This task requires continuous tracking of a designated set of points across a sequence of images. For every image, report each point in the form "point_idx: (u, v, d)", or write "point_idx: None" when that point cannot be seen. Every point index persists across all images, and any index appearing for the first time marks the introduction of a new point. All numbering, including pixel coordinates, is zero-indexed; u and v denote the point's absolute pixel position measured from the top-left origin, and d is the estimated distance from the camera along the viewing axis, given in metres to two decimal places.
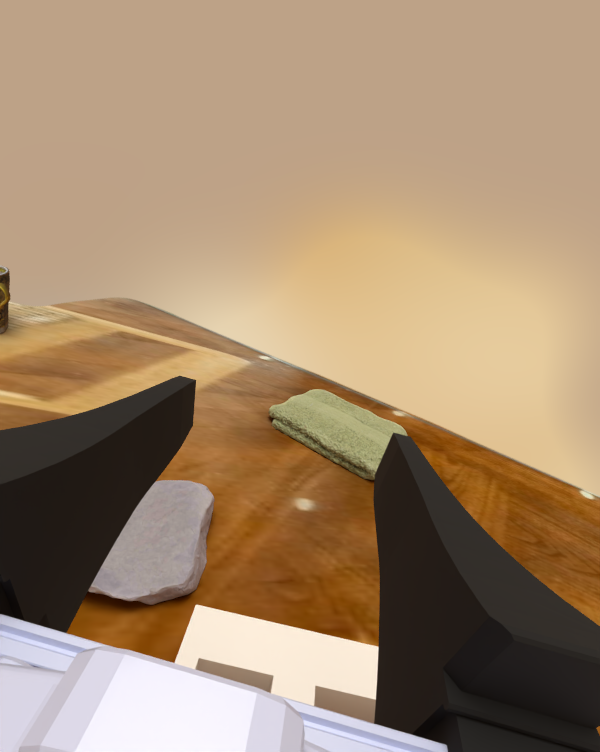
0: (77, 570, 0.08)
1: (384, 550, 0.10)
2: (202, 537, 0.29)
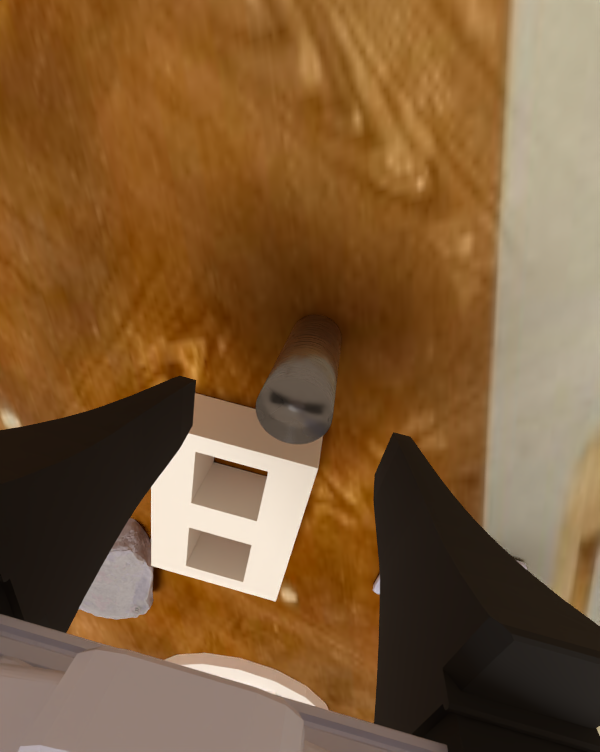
0: (77, 570, 0.08)
1: (384, 550, 0.10)
2: None
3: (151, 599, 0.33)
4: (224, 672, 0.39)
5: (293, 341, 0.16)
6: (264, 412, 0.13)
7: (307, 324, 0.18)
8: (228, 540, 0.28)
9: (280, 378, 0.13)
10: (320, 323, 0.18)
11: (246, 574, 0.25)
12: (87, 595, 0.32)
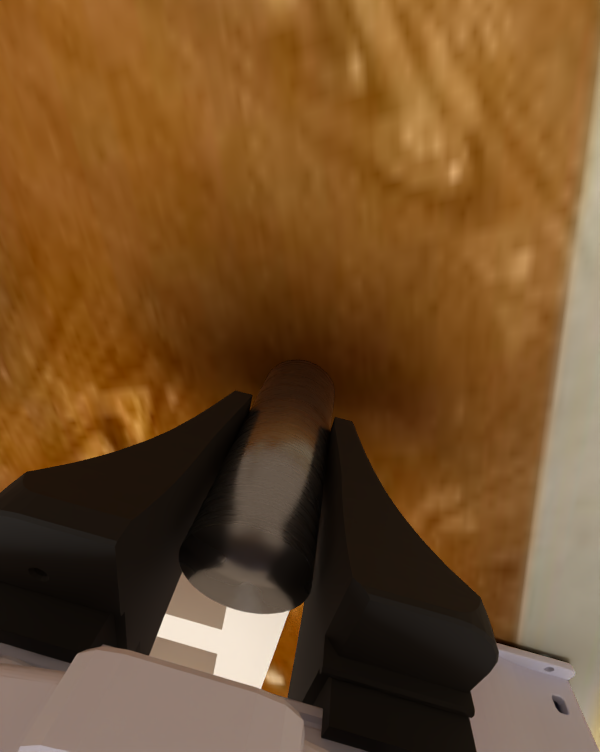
0: (162, 594, 0.08)
1: None
2: None
3: None
4: None
5: (258, 416, 0.10)
6: (194, 568, 0.08)
7: (283, 380, 0.12)
8: None
9: (215, 524, 0.07)
10: (303, 377, 0.13)
11: None
12: None
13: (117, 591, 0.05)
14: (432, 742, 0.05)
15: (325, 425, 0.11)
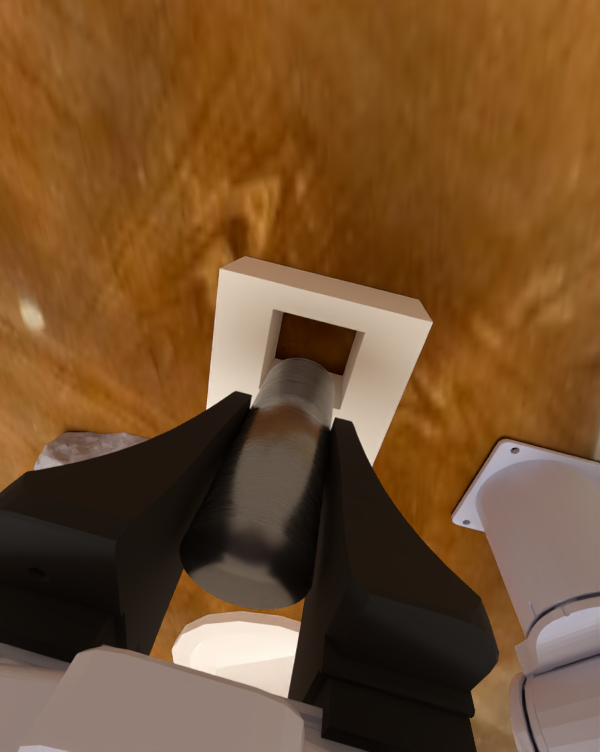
0: (162, 594, 0.08)
1: None
2: (100, 451, 0.26)
3: None
4: (263, 630, 0.35)
5: (260, 412, 0.10)
6: (195, 561, 0.08)
7: (285, 376, 0.12)
8: None
9: (219, 518, 0.07)
10: (305, 375, 0.13)
11: None
12: None
13: (117, 591, 0.05)
14: (432, 742, 0.05)
15: (326, 423, 0.11)
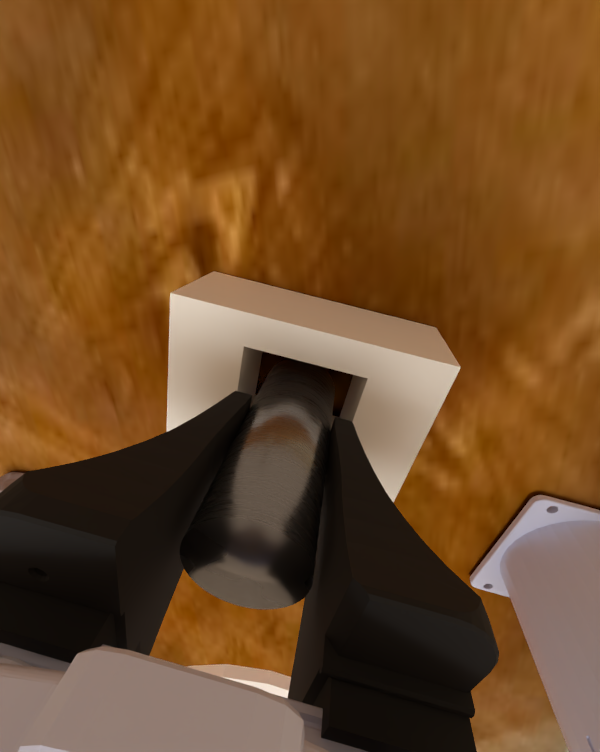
0: (162, 594, 0.08)
1: None
2: None
3: None
4: None
5: (260, 411, 0.10)
6: (195, 561, 0.08)
7: (285, 376, 0.12)
8: None
9: (219, 517, 0.07)
10: (305, 374, 0.13)
11: None
12: None
13: (117, 590, 0.05)
14: (432, 742, 0.05)
15: (326, 423, 0.11)
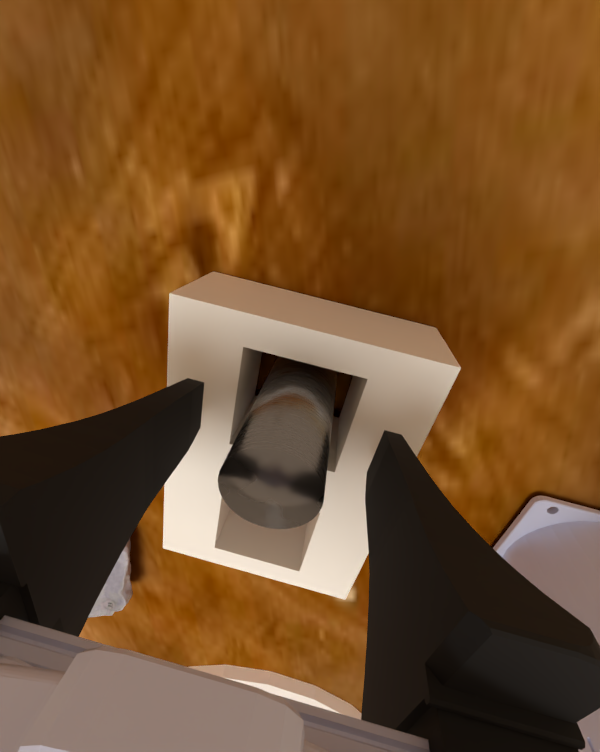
0: (90, 574, 0.08)
1: (374, 547, 0.10)
2: None
3: (129, 591, 0.25)
4: None
5: (276, 378, 0.12)
6: (230, 487, 0.10)
7: None
8: None
9: (251, 447, 0.09)
10: None
11: (306, 559, 0.17)
12: None
13: (11, 560, 0.05)
14: None
15: (332, 390, 0.13)
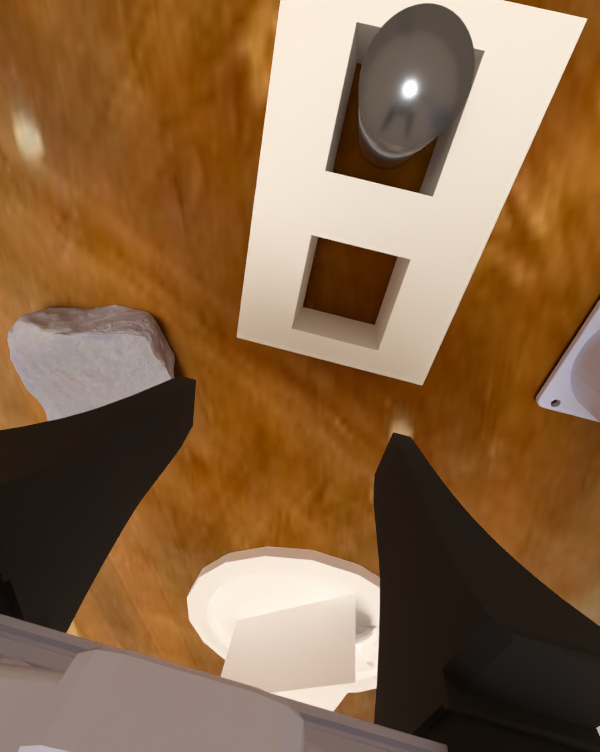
0: (77, 570, 0.08)
1: (384, 550, 0.10)
2: (85, 320, 0.22)
3: None
4: (293, 567, 0.31)
5: None
6: (372, 83, 0.09)
7: None
8: (339, 321, 0.20)
9: (405, 9, 0.09)
10: None
11: (387, 332, 0.17)
12: None
13: None
14: None
15: None
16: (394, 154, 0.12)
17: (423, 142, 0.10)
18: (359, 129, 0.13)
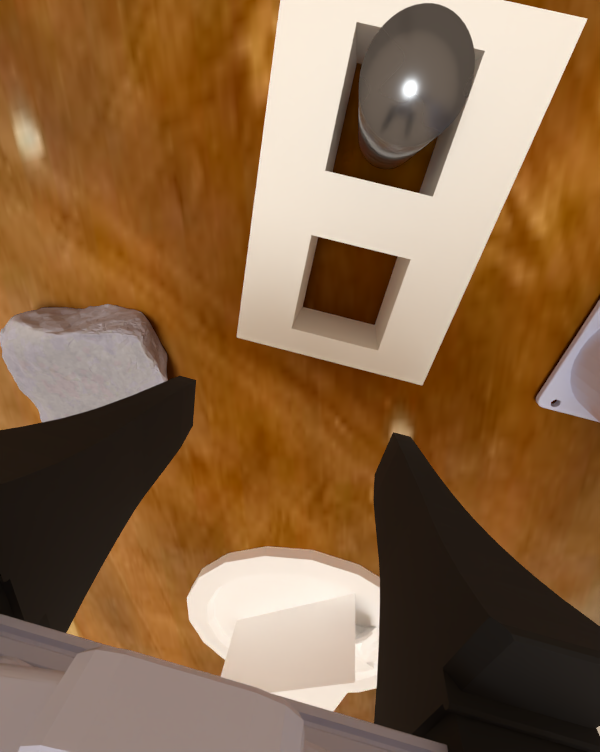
0: (77, 570, 0.08)
1: (384, 550, 0.10)
2: (77, 320, 0.22)
3: None
4: (292, 567, 0.31)
5: None
6: (372, 83, 0.09)
7: None
8: (339, 321, 0.20)
9: (405, 9, 0.09)
10: None
11: (387, 331, 0.17)
12: None
13: None
14: None
15: None
16: (394, 154, 0.12)
17: (423, 142, 0.10)
18: (359, 129, 0.13)
